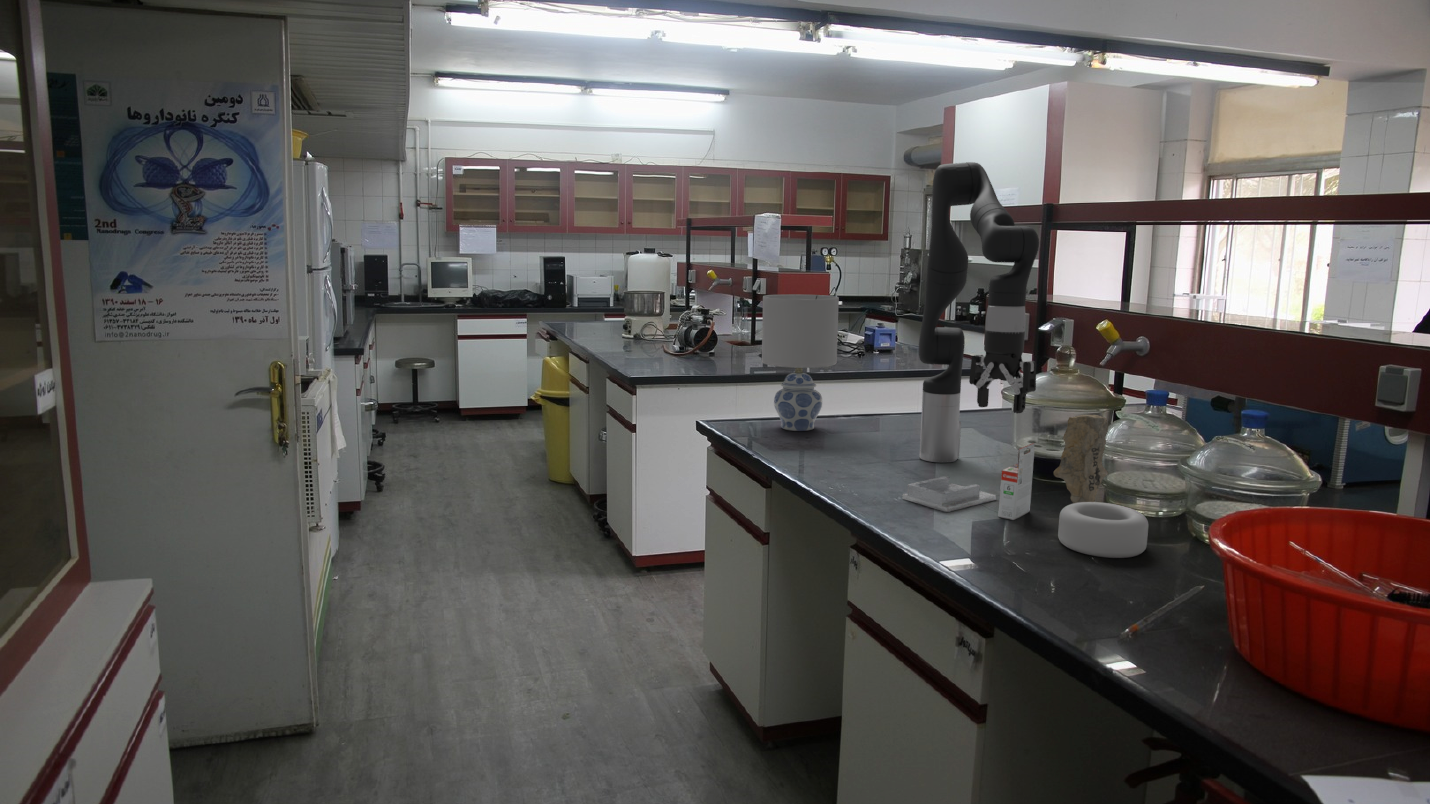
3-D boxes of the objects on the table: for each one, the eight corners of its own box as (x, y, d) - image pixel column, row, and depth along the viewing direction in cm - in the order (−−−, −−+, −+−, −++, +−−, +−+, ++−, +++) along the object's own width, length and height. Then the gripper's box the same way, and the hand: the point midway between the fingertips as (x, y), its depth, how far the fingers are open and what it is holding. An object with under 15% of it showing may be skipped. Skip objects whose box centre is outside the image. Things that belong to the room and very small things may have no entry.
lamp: (838, 436, 263) (843, 299, 256) (761, 435, 263) (764, 299, 256) (830, 421, 284) (834, 294, 277) (759, 420, 284) (761, 294, 278)
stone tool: (1099, 503, 198) (1107, 410, 195) (1114, 511, 193) (1122, 416, 189) (1044, 505, 197) (1051, 411, 194) (1057, 513, 191) (1064, 417, 188)
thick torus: (1139, 566, 162) (1142, 528, 160) (1049, 550, 169) (1051, 514, 168) (1151, 542, 174) (1154, 507, 173) (1067, 528, 182) (1069, 495, 181)
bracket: (951, 487, 210) (952, 472, 210) (995, 499, 201) (996, 483, 200) (902, 498, 201) (903, 482, 200) (946, 512, 191) (947, 495, 191)
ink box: (997, 517, 188) (1001, 446, 186) (1013, 508, 194) (1018, 440, 192) (1014, 521, 186) (1019, 449, 183) (1030, 512, 192) (1035, 442, 189)
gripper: (1047, 330, 181) (1042, 413, 184) (988, 325, 193) (983, 403, 195) (1023, 332, 177) (1018, 417, 180) (963, 326, 189) (959, 406, 191)
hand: (1000, 409), depth 188 cm, fingers open, 8 cm apart
